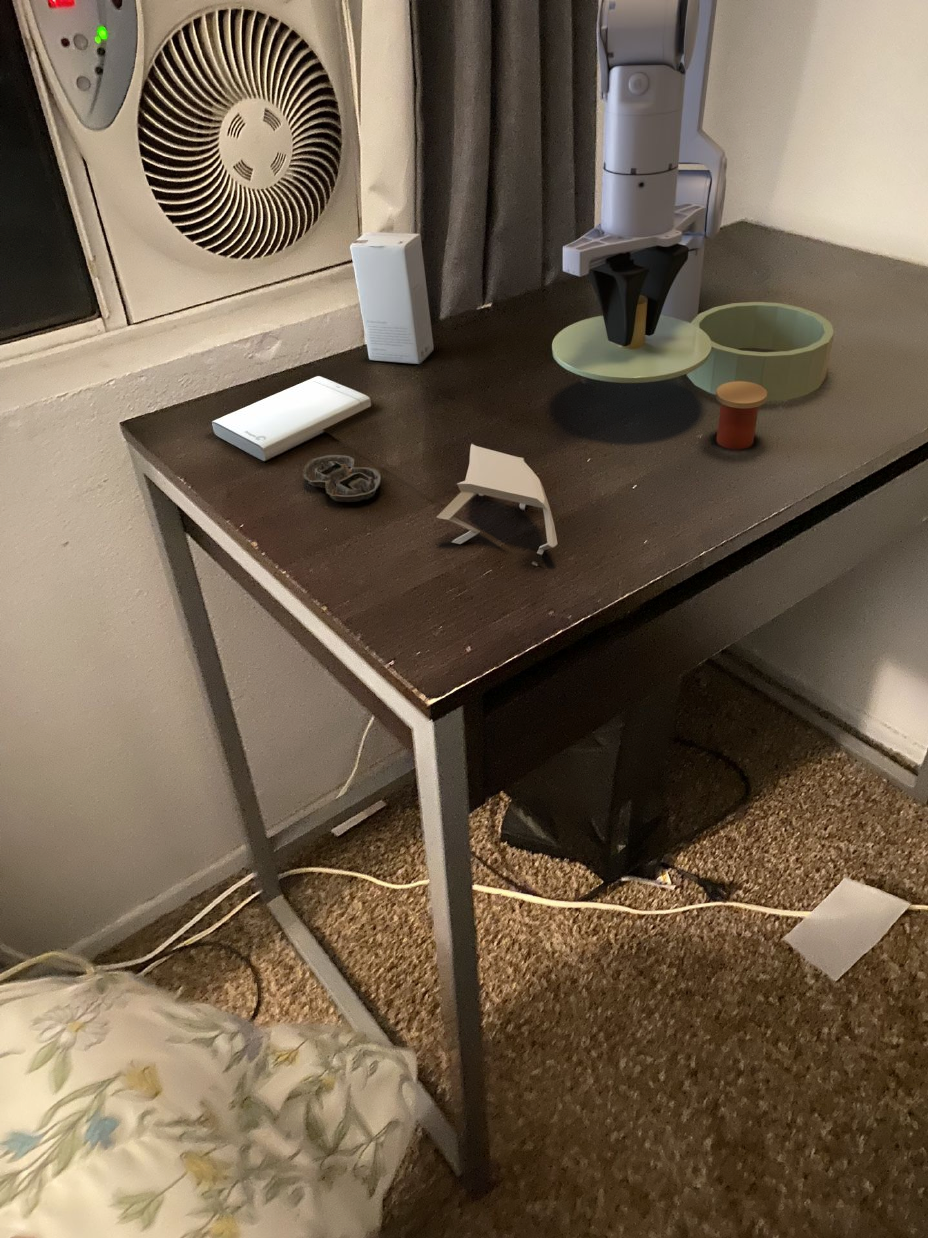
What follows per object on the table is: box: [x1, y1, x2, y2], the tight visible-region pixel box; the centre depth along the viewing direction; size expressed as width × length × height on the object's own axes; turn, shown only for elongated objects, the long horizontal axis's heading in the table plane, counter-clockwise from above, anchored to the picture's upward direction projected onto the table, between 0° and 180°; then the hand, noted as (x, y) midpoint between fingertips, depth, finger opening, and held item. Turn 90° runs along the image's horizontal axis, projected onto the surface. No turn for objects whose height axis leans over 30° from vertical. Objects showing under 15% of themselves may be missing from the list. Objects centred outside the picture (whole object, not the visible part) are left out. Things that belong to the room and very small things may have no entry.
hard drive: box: [211, 375, 372, 462], centre depth 85 cm, size 2×8×12 cm
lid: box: [551, 295, 712, 384], centre depth 77 cm, size 14×14×5 cm
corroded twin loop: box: [302, 454, 382, 503], centre depth 75 cm, size 5×8×1 cm, turn 45°
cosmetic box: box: [349, 231, 435, 365], centre depth 92 cm, size 6×4×12 cm
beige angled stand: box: [435, 443, 558, 567], centre depth 67 cm, size 12×8×5 cm
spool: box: [715, 381, 767, 450], centre depth 75 cm, size 4×4×5 cm
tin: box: [685, 301, 835, 403], centre depth 85 cm, size 13×13×5 cm
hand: (630, 337), depth 78 cm, fingers closed on lid, 2 cm apart
